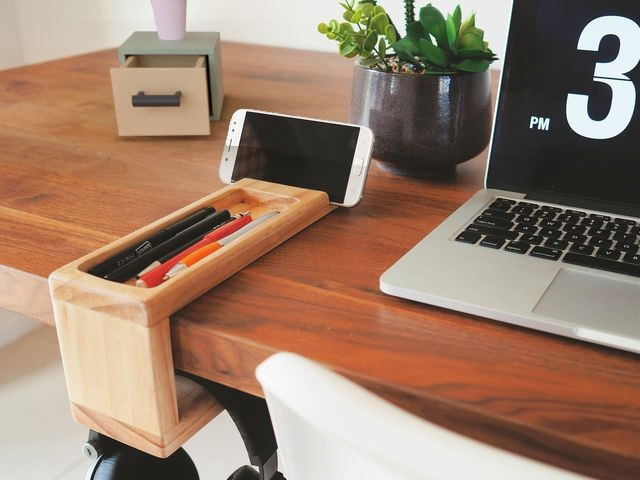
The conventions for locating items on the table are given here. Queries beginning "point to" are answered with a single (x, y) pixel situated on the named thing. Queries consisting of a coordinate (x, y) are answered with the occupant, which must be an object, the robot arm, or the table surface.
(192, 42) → the cabinet
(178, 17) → the smoothie
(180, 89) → the drawer
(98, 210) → the table surface
